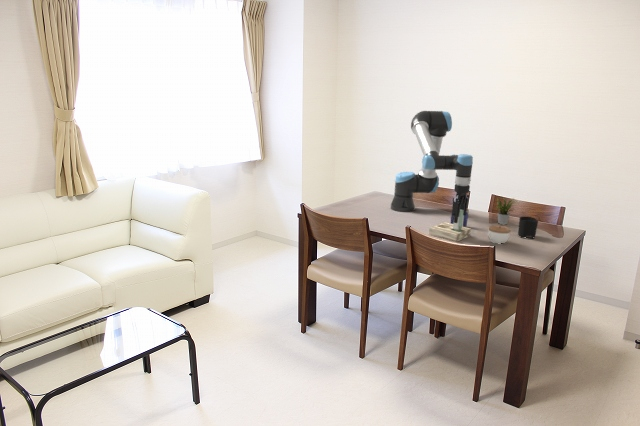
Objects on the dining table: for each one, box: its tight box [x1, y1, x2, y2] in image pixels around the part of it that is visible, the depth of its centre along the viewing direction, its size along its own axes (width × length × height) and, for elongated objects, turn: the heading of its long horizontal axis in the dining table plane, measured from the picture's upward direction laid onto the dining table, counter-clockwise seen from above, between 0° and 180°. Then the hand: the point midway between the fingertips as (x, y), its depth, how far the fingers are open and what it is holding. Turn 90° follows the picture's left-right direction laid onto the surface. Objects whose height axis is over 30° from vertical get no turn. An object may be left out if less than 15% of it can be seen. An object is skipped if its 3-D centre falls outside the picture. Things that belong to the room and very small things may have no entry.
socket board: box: [428, 221, 472, 243], centre depth 276 cm, size 16×16×4 cm
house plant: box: [495, 196, 521, 225], centre depth 300 cm, size 14×14×16 cm
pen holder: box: [517, 216, 539, 239], centre depth 277 cm, size 9×9×10 cm
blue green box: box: [450, 210, 469, 228], centre depth 293 cm, size 9×3×11 cm, turn 74°
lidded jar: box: [488, 224, 512, 245], centre depth 266 cm, size 11×11×9 cm
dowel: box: [453, 209, 464, 232], centre depth 271 cm, size 4×4×14 cm
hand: (457, 227), depth 272 cm, fingers closed on dowel, 4 cm apart
